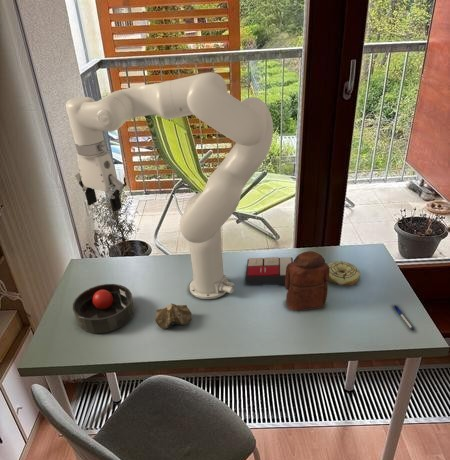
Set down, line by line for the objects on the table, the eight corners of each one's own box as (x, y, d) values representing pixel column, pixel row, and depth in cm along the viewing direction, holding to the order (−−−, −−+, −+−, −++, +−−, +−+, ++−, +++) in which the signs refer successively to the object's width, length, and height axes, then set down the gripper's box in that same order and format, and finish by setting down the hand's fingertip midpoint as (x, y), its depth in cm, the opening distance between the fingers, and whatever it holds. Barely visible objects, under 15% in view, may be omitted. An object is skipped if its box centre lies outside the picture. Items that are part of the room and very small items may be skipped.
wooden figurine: (320, 295, 132) (325, 245, 122) (327, 308, 127) (333, 257, 117) (282, 300, 131) (284, 249, 121) (287, 313, 126) (290, 261, 116)
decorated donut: (342, 292, 133) (343, 282, 131) (317, 276, 141) (318, 266, 138) (365, 279, 138) (367, 269, 136) (340, 265, 145) (341, 255, 143)
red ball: (118, 305, 130) (115, 288, 132) (101, 302, 125) (98, 284, 128) (106, 314, 133) (104, 297, 136) (89, 311, 128) (87, 293, 131)
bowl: (146, 307, 132) (143, 293, 129) (107, 341, 120) (103, 327, 117) (105, 292, 140) (102, 278, 136) (65, 323, 128) (60, 308, 125)
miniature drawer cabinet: (247, 256, 146) (292, 255, 144) (248, 267, 148) (292, 266, 146) (245, 275, 137) (293, 273, 135) (246, 286, 139) (293, 285, 137)
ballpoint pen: (392, 307, 126) (393, 304, 126) (395, 306, 127) (396, 304, 126) (411, 330, 118) (412, 328, 117) (414, 330, 118) (415, 327, 118)
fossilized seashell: (193, 305, 128) (161, 309, 130) (186, 297, 122) (152, 301, 124) (193, 330, 125) (160, 333, 127) (185, 323, 119) (151, 327, 121)
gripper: (124, 147, 114) (136, 207, 124) (78, 139, 122) (92, 196, 132) (104, 156, 109) (118, 218, 119) (58, 148, 117) (74, 206, 127)
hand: (104, 206), depth 126 cm, fingers open, 9 cm apart
